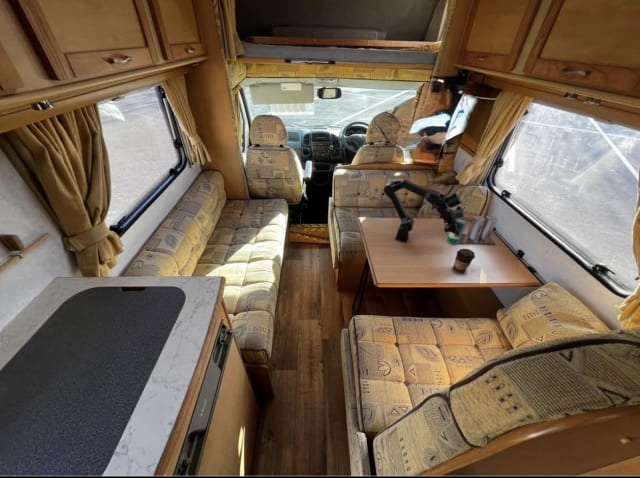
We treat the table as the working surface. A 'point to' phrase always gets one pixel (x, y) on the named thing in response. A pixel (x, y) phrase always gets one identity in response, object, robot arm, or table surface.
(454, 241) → the can
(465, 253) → the coffee cup
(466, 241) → the dark grey flat slab
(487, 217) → the cans
